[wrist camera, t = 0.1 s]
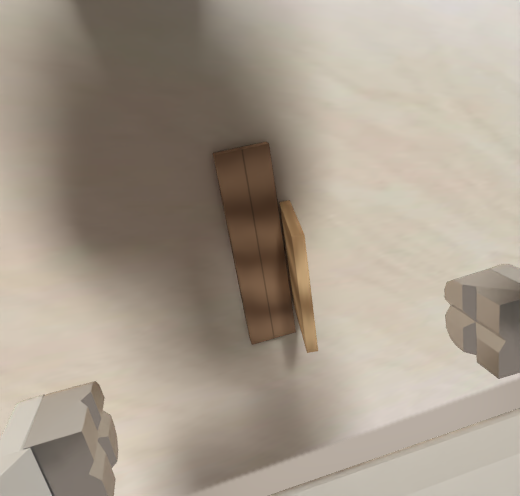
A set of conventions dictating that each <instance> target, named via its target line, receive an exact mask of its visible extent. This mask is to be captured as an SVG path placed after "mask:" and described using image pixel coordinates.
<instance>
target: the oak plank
mask: <svg viewBox="0 0 520 496" xmlns="http://www.w3.org/2000/svg"><path fill="white" fill-rule="evenodd" d="M279 203H280V210H281V218H282V225H283V232H284V239H285V246H286V253H287V260H288V267H289V275H290V282H291V289H292V296H293V303H294V307H295V310H296V314H297V318H298V321H299V325H300V329H301V332H302V336H303V340H304V343H305V347H306V350H307V353H309V352H315V351H318V346H317V338H316V330H315V321H314V313H313V304H312V296H311V287H310V279H309V270H308V262H307V253H306V245H305V236H304V233H303V230H302V228H301V226H300V223H299V221H298V219H297V216H296V214H295V212H294V210H293V207H292V205H291V203H290V200H289V201H283V202H279Z"/></svg>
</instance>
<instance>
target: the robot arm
mask: <svg viewBox="0 0 520 496" xmlns="http://www.w3.org/2000/svg"><path fill="white" fill-rule="evenodd" d="M444 292H445V300H446V301H447V302H448V303H449V304H450V307H449V309H448V311H447V313H446V315H445V319H446V329H447V331H448V333H449V336H450V338H451V340H452V341H453V342H454V344H455V345H456V346H457V347H458V348H460V349H461V350H462V351H463V352H466V353H470V354H474V355H476V358H477V363H479V364H480V365H481V366H483V367H484V368H485V369H486V370H488V371H489V372H490V373H492V374H493V375H494V376H496V377H497V378H498V379H500V378H503V377H507V376H510V375H513V374H517V373H520V268H517V267H515V266H513V265H510V264H501V265H498V266H495V267H492V268H489V269H486V270H483V271H480V272H476V273H473V274H470V275H467V276H464V277H460V278H457V279H454V280H451V281H448V282H447V283H446V286H445V289H444ZM103 405H104V395H103V393H102V390H101V388H100V385H99V384H98V383H97V382H96V381H94V382H90V383H87V384H83V385H79V386H75V387H71V388H68V389H64V390H60V391H56V392H53V393H49V394H46V395H40V396H37V397H34V398H30V399H27V400H24V401H21V402H19V403H17V404H16V406H15V408H14V410H13V412H12V414H11V416H10V418H9V420H8V422H7V425H6V427H5V429H4V431H3V433H2V435H1V437H0V496H114V489H115V480H116V479H115V476H114V473H113V471H112V467H113V466H114V465H115V464H116V462H117V459H118V442H117V434H116V430H115V426H114V423H113V420H112V417H111V415H110V414H108V413H106V412H105V411H103ZM269 496H520V408H518V409H515V410H513V411H510V412H507V413H504V414H501V415H498V416H496V417H493V418H490V419H487V420H484V421H481V422H478V423H476V424H473V425H470V426H467V427H464V428H461V429H458V430H456V431H453V432H450V433H447V434H444V435H441V436H438V437H435V438H432V439H430V440H427V441H424V442H421V443H418V444H415V445H412V446H410V447H407V448H404V449H401V450H398V451H395V452H392V453H389V454H386V455H384V456H381V457H378V458H375V459H372V460H369V461H367V462H364V463H361V464H358V465H355V466H352V467H349V468H346V469H344V470H341V471H338V472H335V473H332V474H329V475H326V476H324V477H320V478H318V479H315V480H312V481H309V482H307V483H304V484H300V485H298V486H295V487H292V488H289V489H286V490H283V491H280V492H278V493H275V494H272V495H269Z"/></svg>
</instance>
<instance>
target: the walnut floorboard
mask: <svg viewBox="0 0 520 496" xmlns="http://www.w3.org/2000/svg"><path fill="white" fill-rule="evenodd" d="M213 157H214V162H215V167H216V172H217V177H218V182H219V187H220V192H221V197H222V202H223V207H224V212H225V217H226V222H227V227H228V232H229V237H230V242H231V247H232V252H233V257H234V262H235V267H236V272H237V277H238V282H239V287H240V292H241V297H242V302H243V307H244V311H245V316H246V321H247V326H248V331H249V336H250V340H251V343H252V345H253V344H256V343H260V342H263V341H267V340H270V339H274V338H277V337H280V336H284V335H287V334H291V333H294V332H296V330H295V323H294V316H293V309H292V302H291V295H290V288H289V280H288V273H287V266H286V259H285V252H284V245H283V238H282V231H281V224H280V217H279V210H278V203H277V196H276V189H275V182H274V175H273V168H272V161H271V154H270V147H269V143H267V142H263V143H258V144H253V145H249V146H244V147H239V148H234V149H230V150H225V151H220V152H215V153H213Z"/></svg>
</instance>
